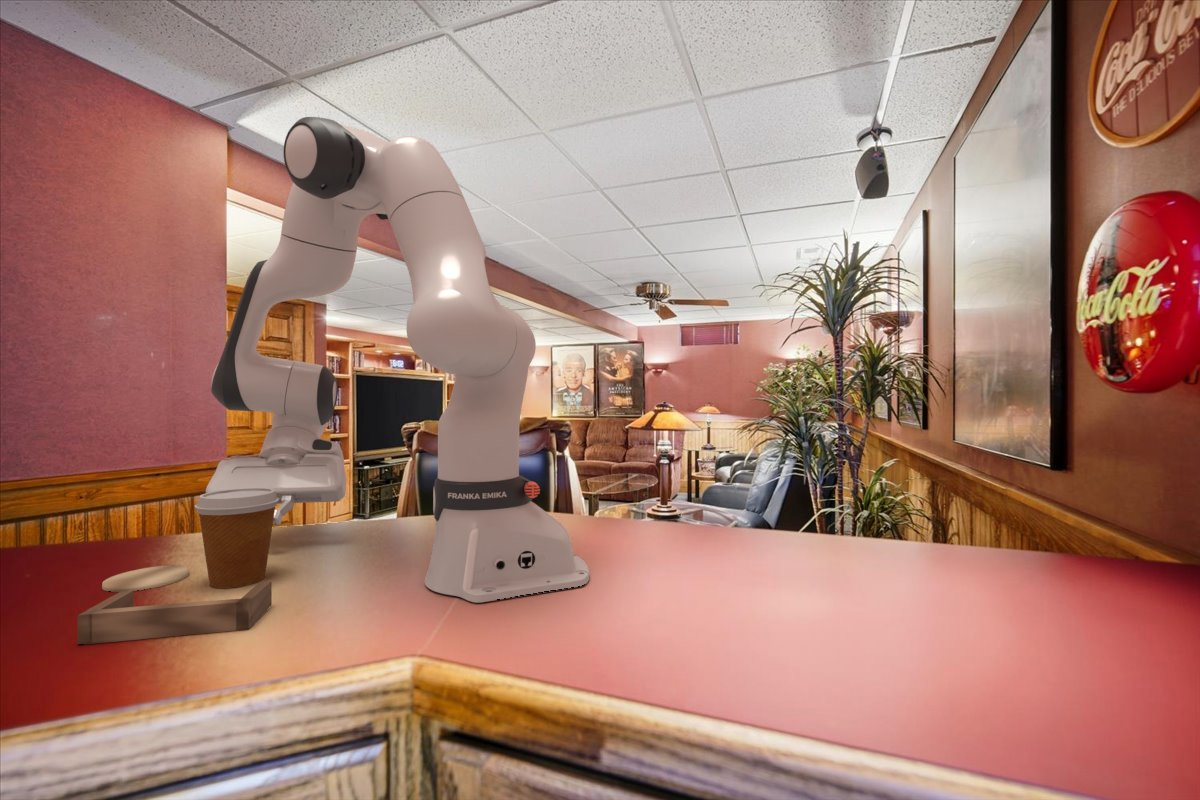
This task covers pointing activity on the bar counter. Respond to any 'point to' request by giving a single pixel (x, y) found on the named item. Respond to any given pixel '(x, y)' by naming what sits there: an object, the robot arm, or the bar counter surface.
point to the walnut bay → (170, 617)
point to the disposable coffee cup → (236, 534)
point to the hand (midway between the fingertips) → (268, 523)
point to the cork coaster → (145, 578)
